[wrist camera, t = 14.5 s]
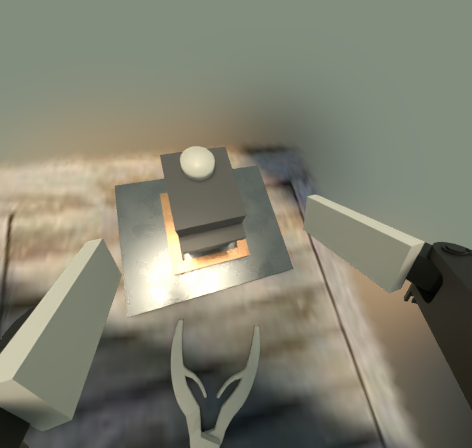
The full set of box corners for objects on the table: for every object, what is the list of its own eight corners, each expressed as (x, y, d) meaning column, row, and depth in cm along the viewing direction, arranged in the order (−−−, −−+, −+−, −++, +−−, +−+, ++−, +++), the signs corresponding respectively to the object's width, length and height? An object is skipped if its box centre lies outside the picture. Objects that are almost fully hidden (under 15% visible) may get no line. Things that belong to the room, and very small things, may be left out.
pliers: (263, 327, 21) (255, 520, 16) (259, 324, 22) (251, 500, 17) (175, 321, 20) (137, 526, 15) (177, 318, 21) (144, 504, 16)
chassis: (130, 315, 20) (120, 320, 18) (118, 189, 24) (108, 179, 22) (289, 269, 25) (298, 267, 22) (255, 169, 29) (260, 159, 26)
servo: (191, 264, 22) (176, 246, 11) (178, 202, 24) (154, 133, 13) (231, 254, 23) (254, 227, 12) (215, 195, 25) (222, 127, 14)
